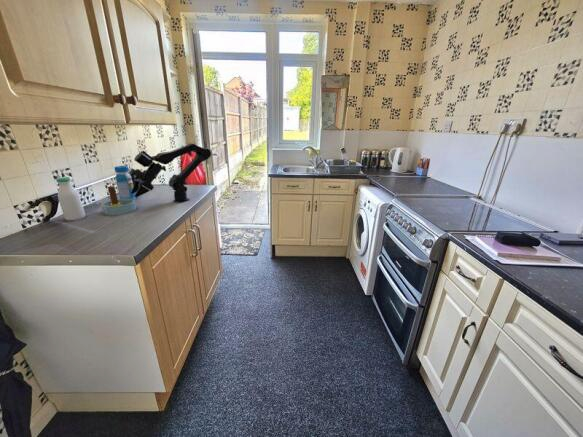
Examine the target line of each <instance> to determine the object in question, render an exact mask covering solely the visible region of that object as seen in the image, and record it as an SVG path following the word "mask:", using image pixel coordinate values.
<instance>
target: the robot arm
mask: <svg viewBox="0 0 583 437" xmlns="http://www.w3.org/2000/svg"><path fill="white" fill-rule="evenodd" d="M191 152H193V153H194V154H195V155H194V158H193V159H192V160H190V162H189V163H188V164H187V165H186V166H185V167H184V169H182V170H181V172H180V173H178V174H175V173H174V174H173V175H172V176H171V177H169V180H168V186H169V188H170V189H171V188H172V190H173V193H174V194H173V197H174V199H173V202H177V203H184V202H187V201H189V200H190V198H188V194H187V191H188V187H187V186H186V185H185V183H186V181H187V179H188V178H189V176H190V175H191V174H192V173H193V172H194V171H195V170H197V168H198V167H199V166H200V165H201V164H202V163H203V162H205V161H207V160H208V159H210V157H211V156H212V152H211V149H209V148H204V147H203V146H202V147H201V146H199V145H197V144H195V143H188V144H186V145H183V146H180V147H178V148H175V149H173V150H171V151H163V152H157V154H156V155H153V156H151V155H149V153H147V151H145V150H141V152H139V153H138V154H136V155H135V157H134V159H133V160H134V161H135V162H136V163H137V164H138V165H140V166H142V167H143V168H147V169H146V170H145V169H143V170H142V171H141V169H138V168H136V169H135V168H130V170H129V174H130V175H131V177H133V186H134V187H133V189H132V191H131V193H132V194H134V193H135V196H134V197H136V198H138V197H140V196H143V195H144V194H147V193H149V192H152V191H153V190H154V188H155V187H154V184H153V183H152V182H153V181H154V180H157V177H158V175H159V174H160V173H161V171H164V172H167V167H166V166H165V165H168V164H170V163H171V162H173V161H174V160H175V159H177V158H179V157H181V156H184V155H186V154H189V153H191Z"/></svg>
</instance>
